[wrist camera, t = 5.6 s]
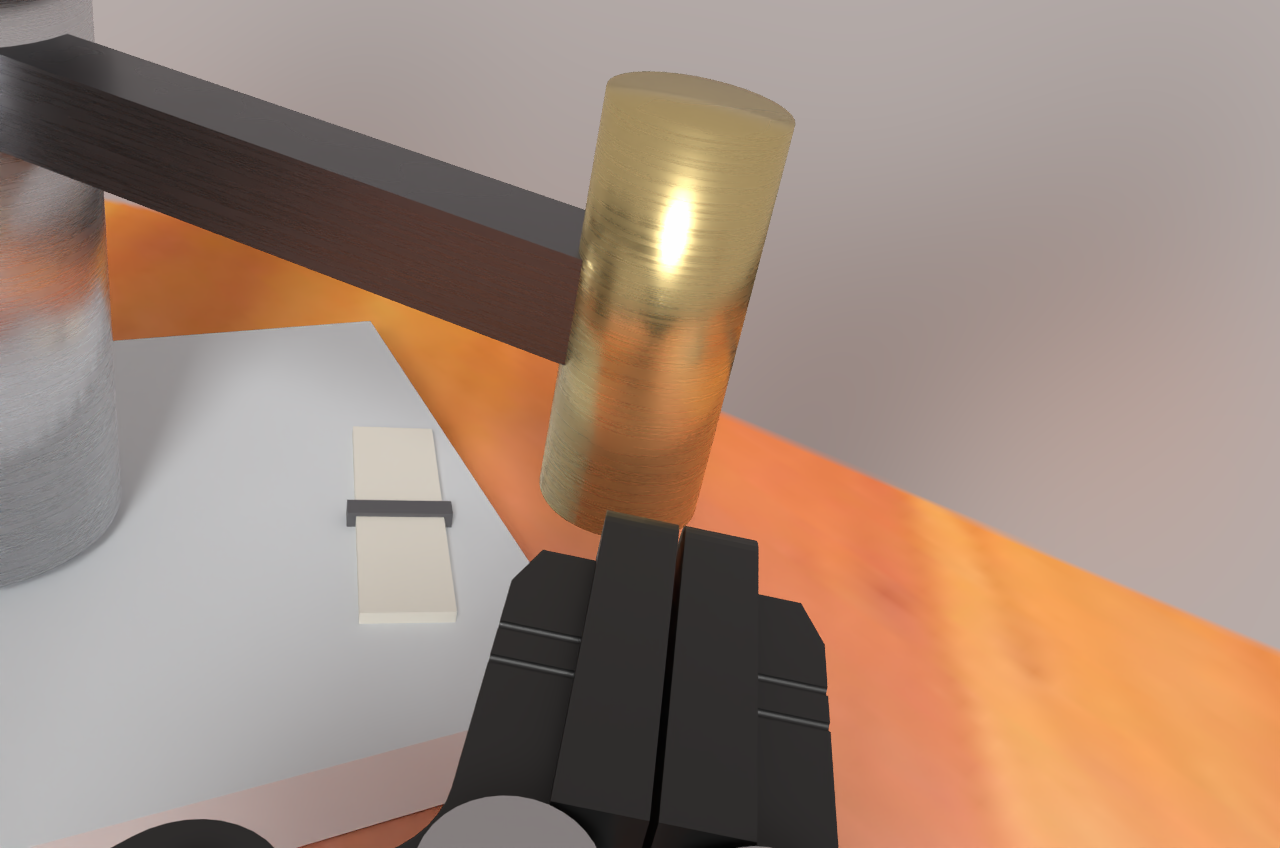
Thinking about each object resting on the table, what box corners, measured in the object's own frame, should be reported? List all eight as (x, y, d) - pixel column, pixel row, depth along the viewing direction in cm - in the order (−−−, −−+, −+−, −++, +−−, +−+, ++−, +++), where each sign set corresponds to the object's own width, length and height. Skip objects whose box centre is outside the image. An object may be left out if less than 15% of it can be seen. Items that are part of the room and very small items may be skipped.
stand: (-503, 466, 26) (-540, 374, 25) (366, 377, 36) (371, 309, 35) (-766, 1164, 15) (-856, 1060, 14) (598, 757, 25) (617, 676, 24)
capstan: (-310, 520, 23) (-532, -204, 16) (-21, 385, 28) (-98, -197, 21) (529, 961, 18) (698, 202, 11) (680, 698, 23) (854, 81, 17)
